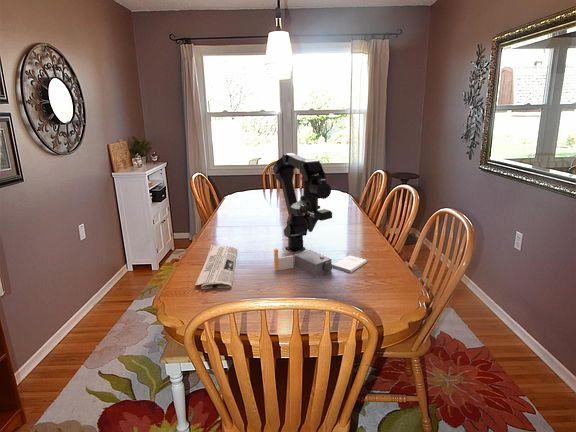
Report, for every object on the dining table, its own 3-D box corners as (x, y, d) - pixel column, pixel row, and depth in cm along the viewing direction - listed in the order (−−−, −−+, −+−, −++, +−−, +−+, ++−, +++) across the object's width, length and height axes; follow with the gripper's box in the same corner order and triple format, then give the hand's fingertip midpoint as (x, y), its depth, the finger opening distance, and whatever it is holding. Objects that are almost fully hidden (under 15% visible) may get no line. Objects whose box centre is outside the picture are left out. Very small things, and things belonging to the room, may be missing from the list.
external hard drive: (332, 268, 145) (348, 258, 154) (350, 274, 140) (366, 263, 149) (332, 264, 144) (349, 254, 153) (350, 270, 139) (367, 259, 148)
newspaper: (231, 289, 129) (231, 280, 128) (194, 291, 128) (194, 281, 127) (237, 251, 162) (237, 243, 161) (208, 252, 162) (208, 244, 161)
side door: (294, 266, 145) (294, 245, 143) (295, 267, 144) (295, 246, 141) (274, 269, 142) (273, 248, 140) (275, 271, 141) (275, 249, 139)
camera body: (294, 266, 145) (294, 253, 144) (309, 261, 150) (310, 248, 148) (318, 278, 135) (318, 264, 133) (334, 272, 140) (334, 258, 138)
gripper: (279, 192, 146) (279, 230, 150) (311, 201, 131) (310, 243, 136) (301, 188, 152) (301, 224, 157) (333, 196, 138) (332, 236, 143)
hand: (310, 231), depth 148 cm, fingers closed
